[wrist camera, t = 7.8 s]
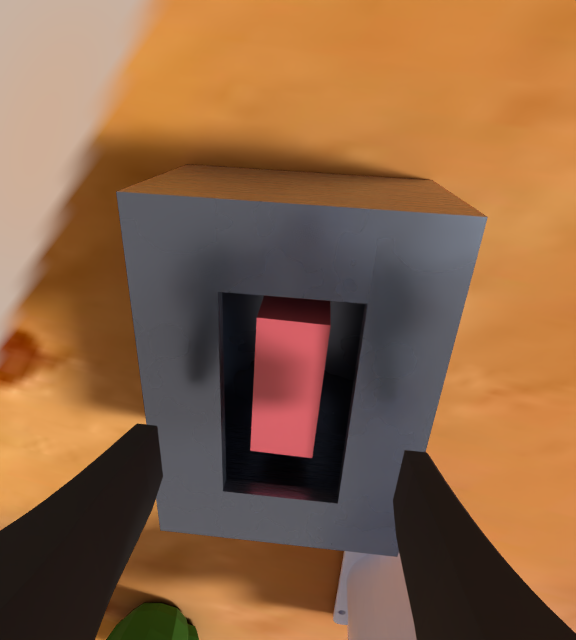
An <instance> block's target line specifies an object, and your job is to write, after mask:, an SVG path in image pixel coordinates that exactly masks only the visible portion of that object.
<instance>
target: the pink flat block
mask: <svg viewBox="0 0 576 640" xmlns="http://www.w3.org/2000/svg"><path fill="white" fill-rule="evenodd" d="M330 327H331V312H330V301H326V300H314V299H302V298H289V297H277V296H265V295H264V298H263V301H262V304H261V306H260V309H259V312H258V315H257V322H256V342H255V363H254V384H253V405H252V426H251V447H250V451H257V452H265V453H274V454H282V455H290V456H299V457H307V458H312V456H313V449H314V442H315V435H316V428H317V420H318V413H319V406H320V399H321V392H322V384H323V377H324V370H325V363H326V356H327V348H328V341H329V334H330Z"/></svg>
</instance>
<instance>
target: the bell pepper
mask: <svg viewBox="0 0 576 640" xmlns="http://www.w3.org/2000/svg"><path fill="white" fill-rule="evenodd" d="M106 640H199V638H198V634H197V630H196V628H195V626H193V625H190V624H187V619H186V618H185V616H184V615H183V614H182V613H181V612H180V611H179V610H178V608H175V607H172V606H169V605H166V604H163V603H143V604H141V605H140V606H139V607H137V608H136V609H134V610H133V611H132V612H131V613H130V614H128V615H127V616H126V617H125V618H124V619H123V620H122V621H121V622H119V623H118V624H117V625H116V627H115V628H114V629H113V631H112V632H111V634H110V635H109V637H108V638H107V639H106Z"/></svg>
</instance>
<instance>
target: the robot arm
mask: <svg viewBox="0 0 576 640" xmlns="http://www.w3.org/2000/svg"><path fill="white" fill-rule="evenodd" d="M162 478H163V471H162V462H161V453H160V445H159V436H158V427H157V426H155V425H145V424H136V425H135V426H134V427H133V428H131V429H130V430H129V431H128V432H127V433H126V434H124V435H123V436H122V437H121V438H120V439H119V440H118V441H116V442H115V443H114V444H113V445H112V446H111V447H110V448H108V449H107V450H106V451H105V452H104V453H103V454H102V455H100V456H99V457H98V458H97V459H96V460H95V461H93V462H92V463H91V464H90V465H89V466H87V467H86V468H85V469H84V470H83V471H81V472H80V473H79V474H78V475H77V476H75V477H74V478H73V479H72V480H70V481H69V482H68V483H67V484H65V485H64V486H63V487H61V488H60V489H59V490H57V491H56V492H55V493H54V494H52V495H51V496H50V497H48V498H47V499H46V500H44V501H43V502H42V503H40V504H39V505H38V506H36V507H35V508H33V509H32V510H31V511H29V512H28V513H26V514H25V515H23V516H22V517H20V518H19V519H17V520H16V521H14V522H13V523H11V524H10V525H8V526H7V527H5V528H4V529H2V530H1V531H0V640H95V638H96V635H97V632H98V630H99V627H100V624H101V622H102V619H103V616H104V614H105V611H106V608H107V606H108V603H109V601H110V599H111V596H112V594H113V592H114V589H115V587H116V585H117V583H118V581H119V579H120V576H121V574H122V572H123V570H124V568H125V566H126V564H127V562H128V560H129V558H130V555H131V553H132V551H133V549H134V547H135V545H136V543H137V541H138V539H139V537H140V534H141V532H142V530H143V528H144V526H145V524H146V522H147V519H148V517H149V515H150V513H151V511H152V508H153V505H154V502H155V500H156V497H157V494H158V491H159V488H160V484H161V481H162ZM393 509H394V520H395V530H396V539H397V544H398V549H399V554H398V557H394V556H385V555H376V554H367V553H358V552H349V551H344V555H343V560H342V566H341V572H340V578H339V584H338V589H337V595H336V601H335V607H334V613H333V621H334V622H335V623H337V624H342V625H348V640H576V633H575V632H574V631H573V630H572V629H570V628H569V627H568V626H567V625H566V624H565V623H564V622H563V621H562V620H561V619H560V618H559V617H558V616H557V615H556V614H555V613H554V612H553V611H552V610H551V609H550V608H549V607H548V606H547V605H546V604H545V603H544V602H543V601H542V600H541V599H540V598H539V597H538V596H537V595H536V594H535V593H534V592H533V591H532V590H531V589H530V587H529V586H528V585H527V584H526V583H525V582H524V581H523V580H522V579H521V578H520V576H519V575H518V574H517V573H516V572H515V571H514V570H513V569H512V567H511V566H510V565H509V564H508V563H507V562H506V560H505V559H504V558H503V557H502V556H501V555H500V553H499V552H498V551H497V550H496V548H495V547H494V546H493V545H492V543H491V542H490V541H489V540H488V538H487V537H486V536H485V535H484V533H483V532H482V531H481V530H480V528H479V527H478V526H477V524H476V523H475V522H474V520H473V519H472V518H471V516H470V515H469V513H468V512H467V511H466V509H465V508H464V507H463V505H462V504H461V502H460V501H459V500H458V498H457V497H456V495H455V494H454V492H453V491H452V490H451V488H450V487H449V485H448V484H447V482H446V481H445V479H444V478H443V476H442V475H441V473H440V472H439V470H438V469H437V467H436V465H435V464H434V462H433V461H432V459H431V458H430V456H429V455H428V454H427V452H418V451H408V450H405V451H404V455H403V459H402V463H401V468H400V472H399V476H398V480H397V485H396V489H395V493H394V498H393Z"/></svg>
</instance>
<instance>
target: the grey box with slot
mask: <svg viewBox="0 0 576 640" xmlns="http://www.w3.org/2000/svg"><path fill="white" fill-rule="evenodd" d="M116 194H117V201H118V209H119V217H120V224H121V232H122V240H123V247H124V255H125V263H126V270H127V278H128V286H129V293H130V301H131V309H132V316H133V324H134V332H135V339H136V347H137V355H138V362H139V370H140V378H141V385H142V393H143V401H144V408H145V416H146V424H147V425H155V426H157V427H158V436H159V445H160V453H161V462H162V471H163V478H162V481H161V484H160V488H159V491H158V494H157V497H156V501H157V508H158V516H159V524H160V530H162V531H171V532H180V533H189V534H197V535H206V536H215V537H224V538H233V539H242V540H251V541H260V542H269V543H278V544H287V545H296V546H304V547H313V548H322V549H331V550H340V551H349V552H358V553H367V554H376V555H385V556H394V557H398V554H399V549H398V544H397V539H396V530H395V520H394V509H393V498H394V493H395V489H396V485H397V480H398V476H399V472H400V468H401V463H402V459H403V455H404V451H405V450H408V451H418V452H426V448H427V444H428V440H429V436H430V433H431V429H432V425H433V421H434V418H435V414H436V410H437V406H438V402H439V399H440V395H441V391H442V387H443V384H444V380H445V376H446V372H447V368H448V365H449V361H450V357H451V353H452V350H453V346H454V342H455V338H456V334H457V331H458V327H459V323H460V319H461V316H462V312H463V308H464V304H465V300H466V297H467V293H468V289H469V285H470V282H471V278H472V274H473V270H474V266H475V263H476V259H477V255H478V251H479V248H480V244H481V240H482V236H483V232H484V229H485V225H486V221H487V216H485V215H484V214H482V213H481V212H479V211H478V210H476V209H475V208H473V207H472V206H470V205H469V204H467V203H466V202H464V201H463V200H461V199H460V198H458V197H457V196H455V195H454V194H452V193H451V192H449V191H448V190H446V189H445V188H443V187H442V186H440V185H439V184H437V183H436V182H434V181H433V180H421V179H406V178H391V177H375V176H360V175H344V174H329V173H313V172H298V171H282V170H267V169H252V168H236V167H221V166H205V165H190V164H187V165H184V166H181V167H179V168H176V169H174V170H171V171H168V172H166V173H163V174H161V175H158V176H155V177H153V178H150V179H147V180H145V181H142V182H140V183H137V184H134V185H132V186H129V187H127V188H124V189H121V190H119V191H116ZM264 295H265V296H277V297H289V298H302V299H314V300H326V301H330V312H331V327H330V334H329V341H328V348H327V356H326V363H325V370H324V377H323V384H322V392H321V399H320V406H319V413H318V420H317V428H316V435H315V442H314V449H313V456H312V458H307V457H299V456H290V455H282V454H274V453H265V452H257V451H250V447H251V426H252V405H253V384H254V363H255V342H256V322H257V315H258V312H259V309H260V306H261V304H262V301H263V298H264Z"/></svg>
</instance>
